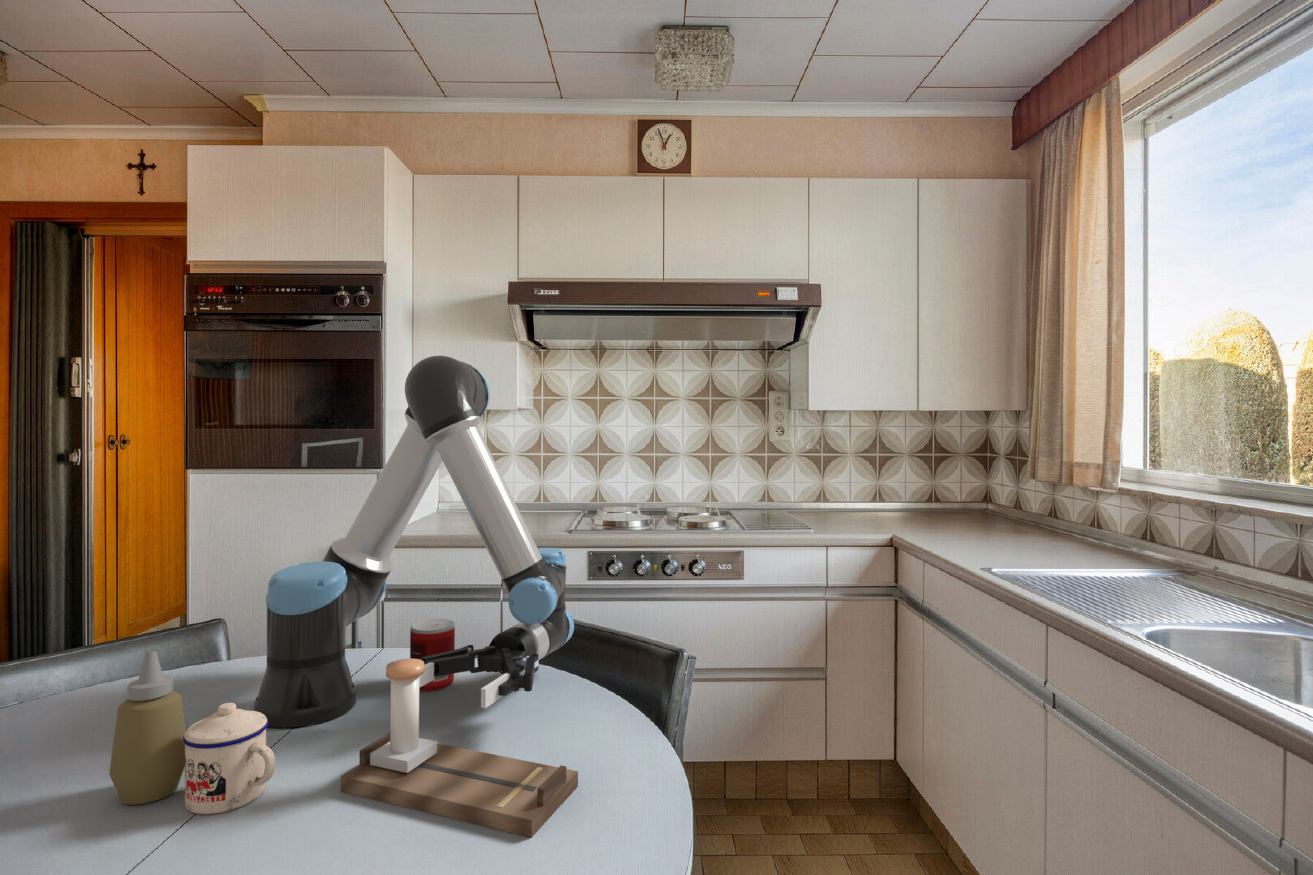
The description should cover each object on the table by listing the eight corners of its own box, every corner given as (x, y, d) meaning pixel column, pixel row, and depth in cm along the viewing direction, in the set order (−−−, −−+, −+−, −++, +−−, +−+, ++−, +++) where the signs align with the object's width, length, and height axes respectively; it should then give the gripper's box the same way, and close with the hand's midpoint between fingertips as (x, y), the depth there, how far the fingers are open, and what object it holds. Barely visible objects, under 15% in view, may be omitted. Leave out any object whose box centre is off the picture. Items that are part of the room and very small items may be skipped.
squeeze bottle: (125, 818, 80) (126, 668, 80) (97, 798, 84) (98, 655, 84) (200, 788, 87) (201, 649, 87) (171, 771, 91) (172, 639, 91)
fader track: (340, 791, 87) (340, 760, 87) (404, 750, 98) (404, 722, 98) (531, 837, 78) (532, 802, 78) (577, 786, 89) (578, 756, 89)
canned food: (460, 676, 128) (461, 618, 128) (443, 692, 120) (443, 631, 120) (421, 674, 129) (422, 617, 128) (402, 690, 121) (402, 629, 120)
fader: (370, 764, 89) (371, 668, 89) (401, 744, 95) (402, 654, 95) (407, 772, 87) (408, 674, 87) (437, 752, 93) (438, 660, 93)
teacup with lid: (163, 809, 82) (164, 714, 82) (230, 773, 91) (231, 687, 91) (240, 827, 79) (241, 728, 79) (301, 788, 87) (302, 698, 87)
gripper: (583, 678, 113) (518, 731, 93) (457, 660, 122) (372, 705, 101) (583, 634, 113) (518, 677, 93) (457, 619, 121) (373, 655, 101)
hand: (442, 691), depth 97 cm, fingers open, 13 cm apart
